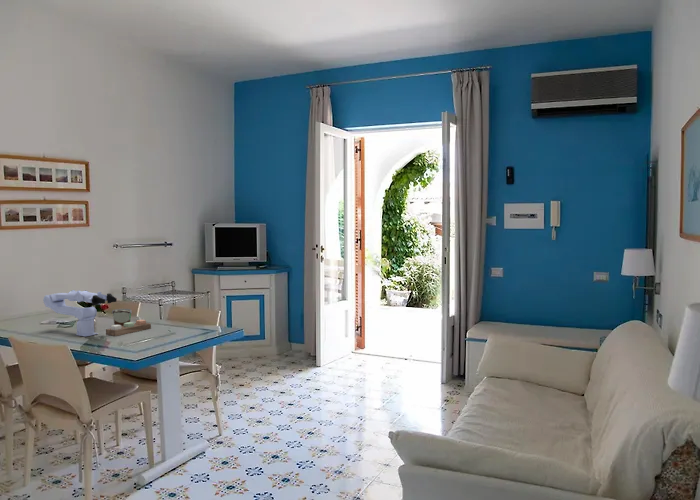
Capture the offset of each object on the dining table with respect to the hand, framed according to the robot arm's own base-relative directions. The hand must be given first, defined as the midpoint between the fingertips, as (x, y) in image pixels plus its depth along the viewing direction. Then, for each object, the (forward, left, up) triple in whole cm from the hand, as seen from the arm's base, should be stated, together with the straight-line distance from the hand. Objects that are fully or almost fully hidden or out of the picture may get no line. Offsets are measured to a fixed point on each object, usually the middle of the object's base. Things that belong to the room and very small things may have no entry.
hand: (110, 300), depth 315 cm
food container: (-25, +26, -21) cm, 42 cm away
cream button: (-7, +8, -19) cm, 22 cm away
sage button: (-7, +16, -19) cm, 26 cm away
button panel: (-7, +16, -21) cm, 27 cm away
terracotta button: (-7, +25, -19) cm, 32 cm away
